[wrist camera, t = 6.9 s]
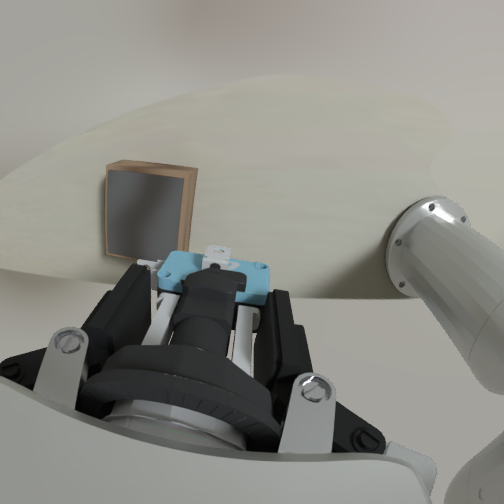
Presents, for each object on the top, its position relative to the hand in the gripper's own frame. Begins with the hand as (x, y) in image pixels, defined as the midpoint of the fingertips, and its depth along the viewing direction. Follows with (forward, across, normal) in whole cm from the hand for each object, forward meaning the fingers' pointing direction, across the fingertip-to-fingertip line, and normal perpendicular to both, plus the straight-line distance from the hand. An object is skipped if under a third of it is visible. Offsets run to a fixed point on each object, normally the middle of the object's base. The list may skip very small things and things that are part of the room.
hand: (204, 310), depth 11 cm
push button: (+3, 0, 0) cm, 3 cm away
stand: (+18, +8, +2) cm, 19 cm away
